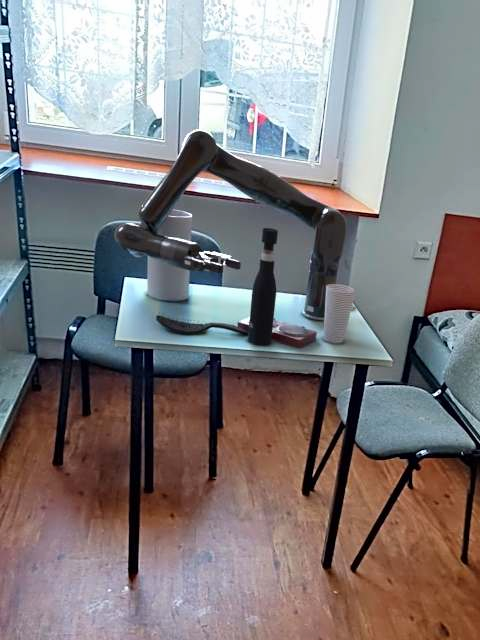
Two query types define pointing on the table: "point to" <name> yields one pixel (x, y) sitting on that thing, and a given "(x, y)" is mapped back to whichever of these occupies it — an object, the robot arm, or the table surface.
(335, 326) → the cup
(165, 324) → the hairbrush
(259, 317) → the water bottle
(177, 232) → the cylinder vase
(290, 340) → the hot plate
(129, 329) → the table surface
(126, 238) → the robot arm
